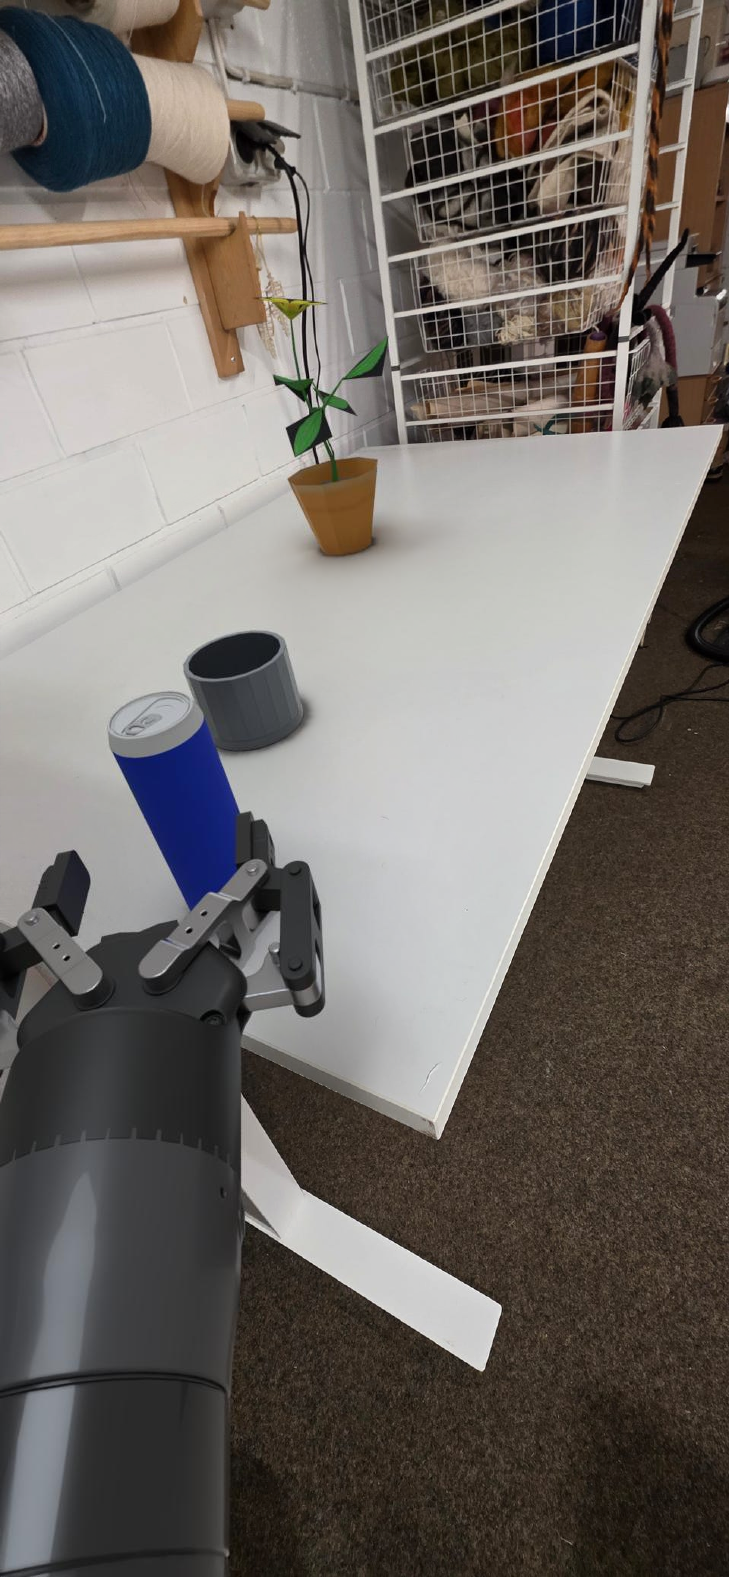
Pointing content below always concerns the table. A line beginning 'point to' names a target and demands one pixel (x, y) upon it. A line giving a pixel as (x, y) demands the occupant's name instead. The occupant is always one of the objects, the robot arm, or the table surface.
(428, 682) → the table surface
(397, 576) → the table surface
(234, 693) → the grey pen holder cup
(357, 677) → the table surface
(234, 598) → the table surface
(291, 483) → the potted plant
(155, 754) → the beverage can
